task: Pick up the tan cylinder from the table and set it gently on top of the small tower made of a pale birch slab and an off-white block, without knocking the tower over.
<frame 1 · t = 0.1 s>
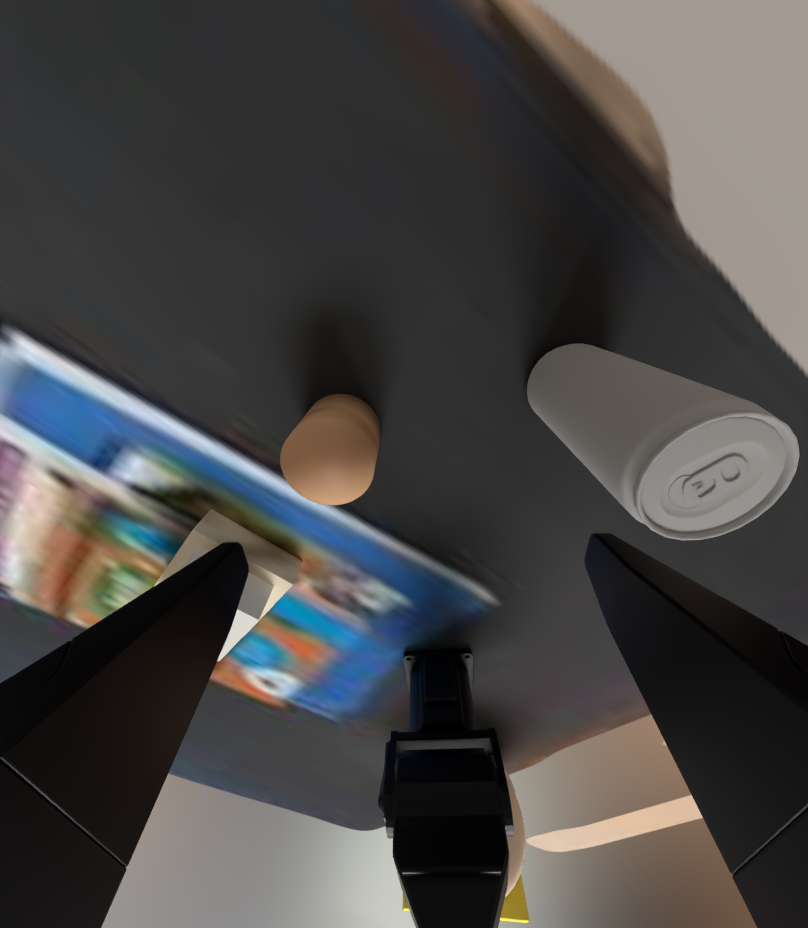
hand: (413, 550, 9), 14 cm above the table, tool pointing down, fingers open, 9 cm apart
birch slab: (237, 560, 29), on the table, touching white block
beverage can: (562, 380, 22), on the table
white block: (219, 588, 27), point 2 cm above the table, touching birch slab
hamburger: (456, 750, 43), on the table
tan cylinder: (343, 430, 23), on the table
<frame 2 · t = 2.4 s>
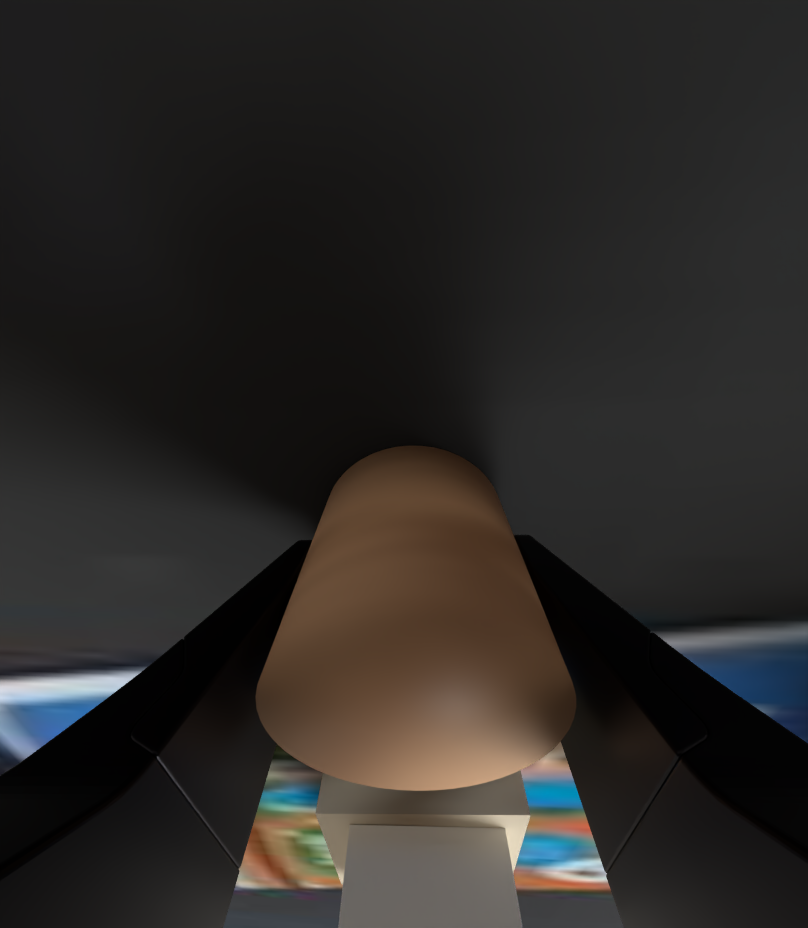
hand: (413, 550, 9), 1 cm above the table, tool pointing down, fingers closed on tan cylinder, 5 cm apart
birch slab: (421, 767, 18), on the table, touching white block
white block: (424, 855, 15), point 2 cm above the table, touching birch slab
tan cylinder: (413, 525, 10), on the table, touching gripper
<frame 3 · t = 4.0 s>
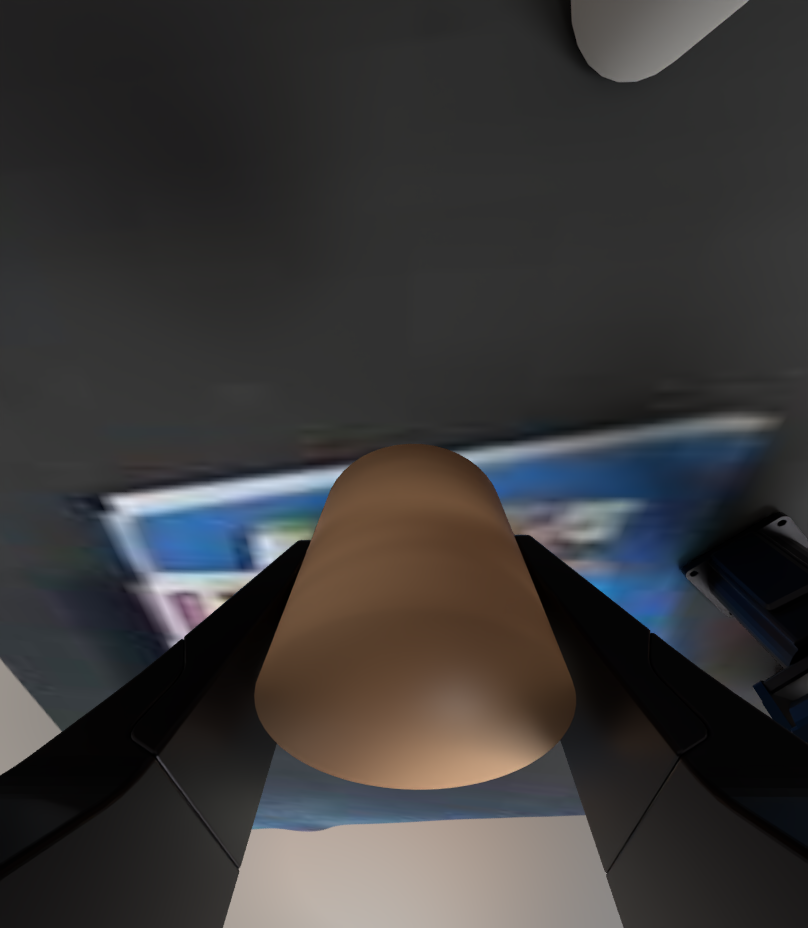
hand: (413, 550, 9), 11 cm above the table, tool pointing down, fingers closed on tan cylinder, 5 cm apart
tan cylinder: (412, 523, 10), point 10 cm above the table, touching gripper
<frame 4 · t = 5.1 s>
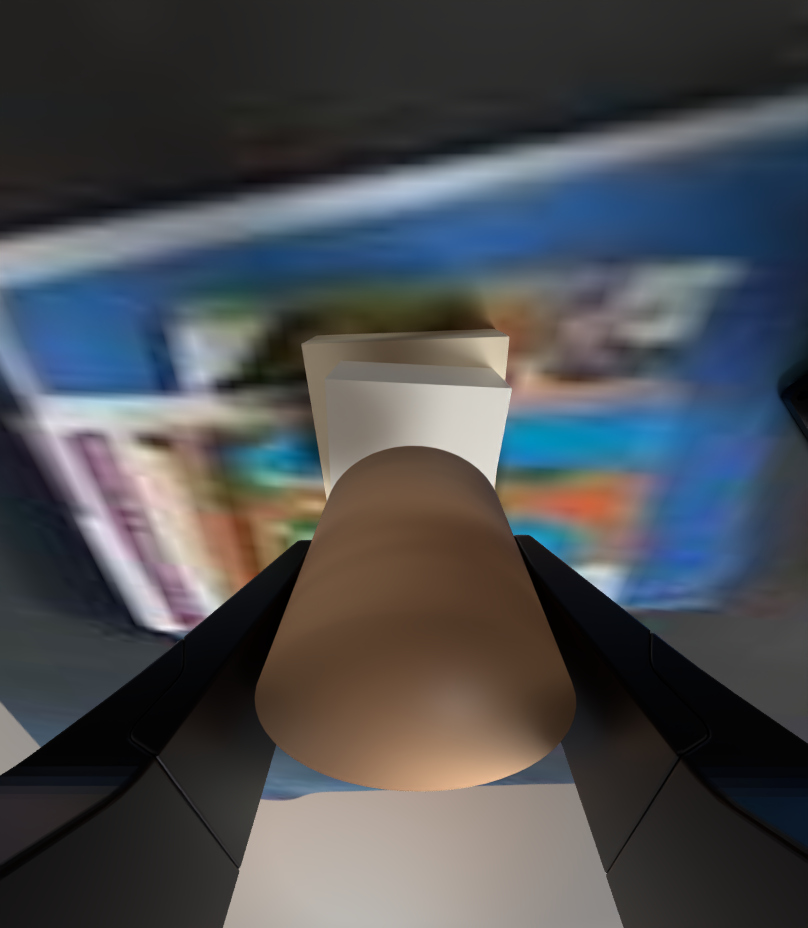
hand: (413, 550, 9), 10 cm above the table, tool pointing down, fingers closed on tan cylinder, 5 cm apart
birch slab: (408, 413, 18), on the table
white block: (412, 434, 15), point 2 cm above the table
tan cylinder: (412, 525, 10), point 9 cm above the table, touching gripper
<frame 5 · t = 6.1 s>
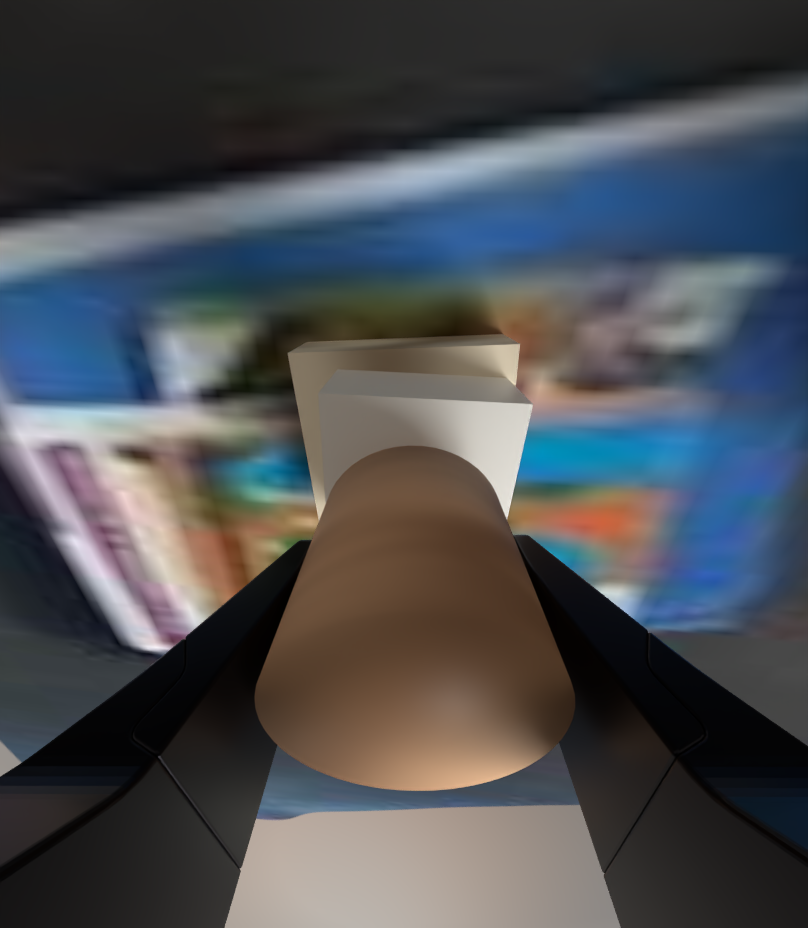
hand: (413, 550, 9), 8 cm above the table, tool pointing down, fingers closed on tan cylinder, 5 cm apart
birch slab: (407, 425, 17), on the table, touching white block
white block: (417, 449, 14), point 2 cm above the table, touching birch slab
tan cylinder: (412, 525, 10), point 7 cm above the table, touching gripper
when the fingers open (8 cm above the table, at t = 6.2 s): tan cylinder drops 2 cm, resting on white block.
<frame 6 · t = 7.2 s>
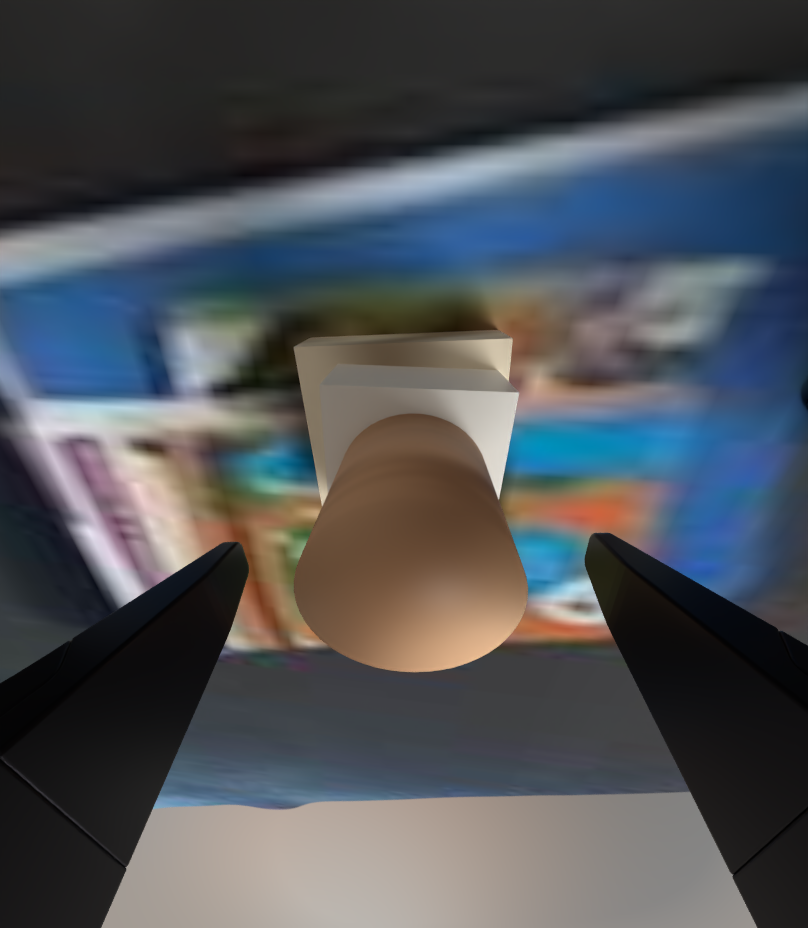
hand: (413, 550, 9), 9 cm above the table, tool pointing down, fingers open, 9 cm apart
birch slab: (407, 417, 17), on the table, touching white block
white block: (413, 440, 15), point 2 cm above the table, touching birch slab, tan cylinder
tan cylinder: (413, 483, 12), point 5 cm above the table, touching white block
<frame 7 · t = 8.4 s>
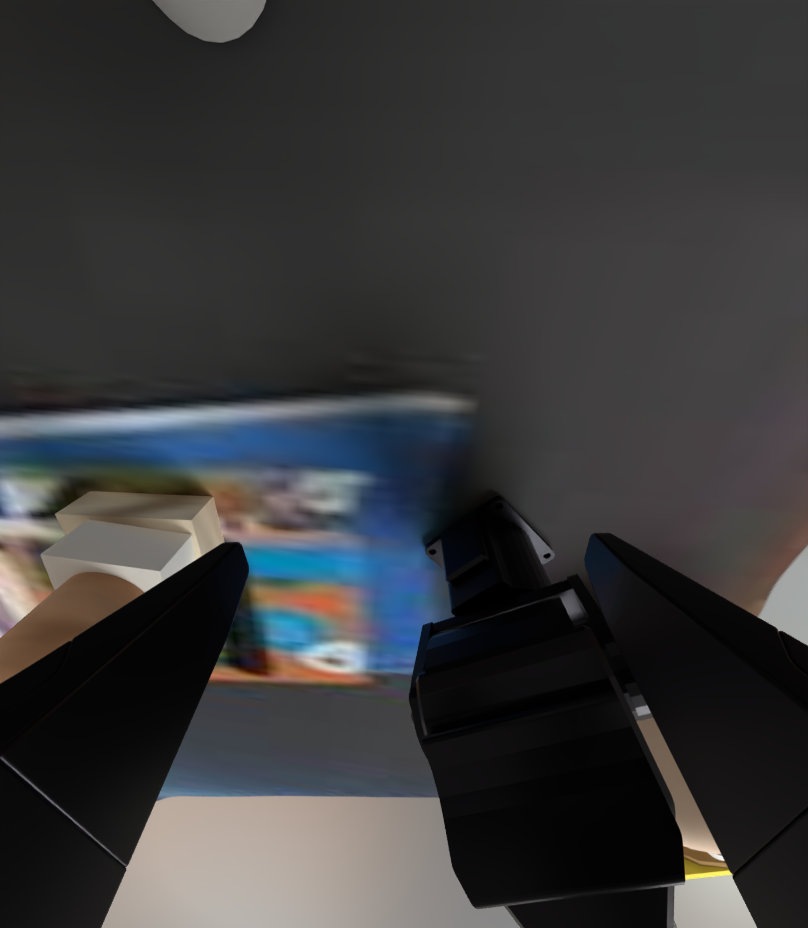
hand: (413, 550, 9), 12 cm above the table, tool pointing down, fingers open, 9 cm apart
birch slab: (172, 537, 25), on the table
white block: (148, 564, 22), point 3 cm above the table, touching tan cylinder
hamburger: (619, 649, 30), on the table
tan cylinder: (111, 605, 20), point 6 cm above the table, touching white block
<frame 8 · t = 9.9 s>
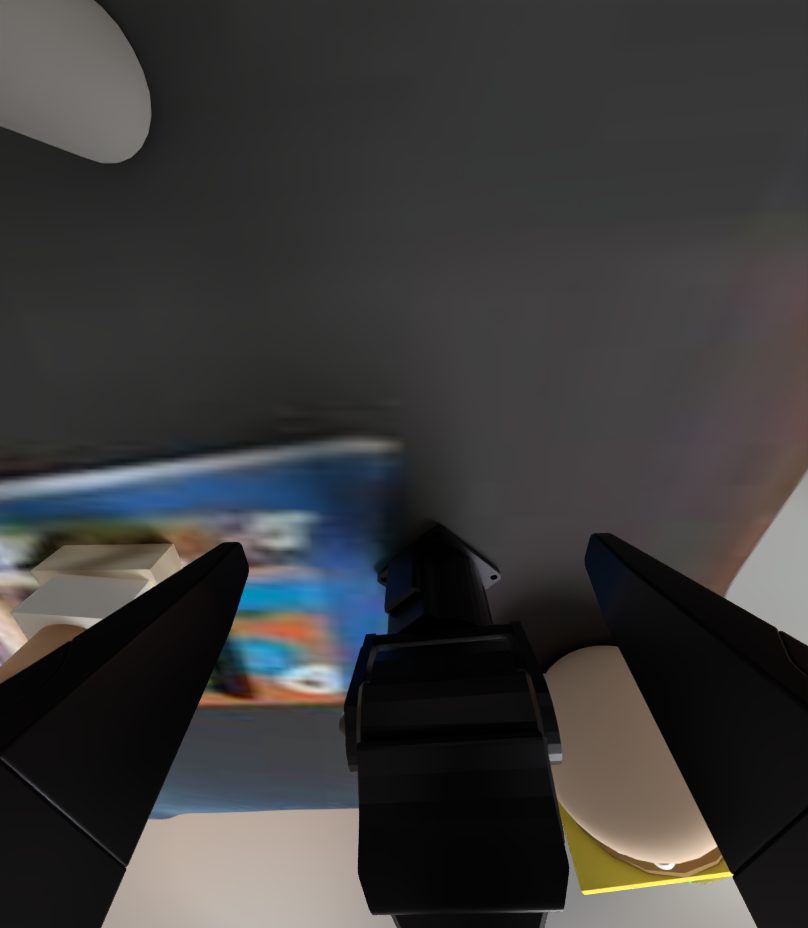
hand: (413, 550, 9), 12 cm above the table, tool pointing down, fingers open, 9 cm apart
birch slab: (144, 580, 27), on the table, touching white block
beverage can: (101, 92, 14), on the table
white block: (116, 608, 24), point 2 cm above the table, touching birch slab, tan cylinder
hamburger: (586, 659, 30), on the table
tan cylinder: (80, 650, 22), point 5 cm above the table, touching white block
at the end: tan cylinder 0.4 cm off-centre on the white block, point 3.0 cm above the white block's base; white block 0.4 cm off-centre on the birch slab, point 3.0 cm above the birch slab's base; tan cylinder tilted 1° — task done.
